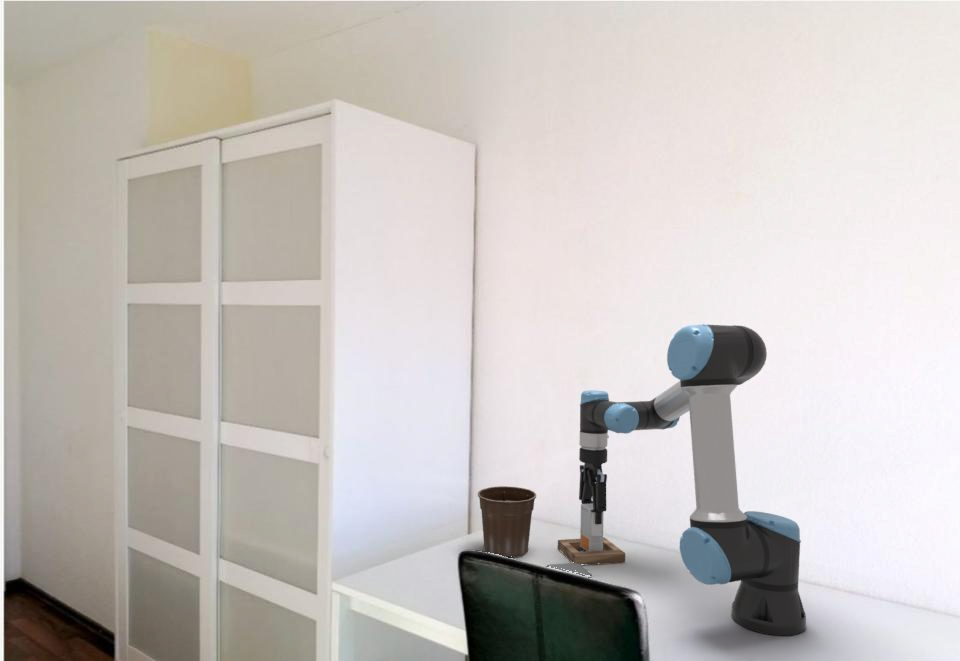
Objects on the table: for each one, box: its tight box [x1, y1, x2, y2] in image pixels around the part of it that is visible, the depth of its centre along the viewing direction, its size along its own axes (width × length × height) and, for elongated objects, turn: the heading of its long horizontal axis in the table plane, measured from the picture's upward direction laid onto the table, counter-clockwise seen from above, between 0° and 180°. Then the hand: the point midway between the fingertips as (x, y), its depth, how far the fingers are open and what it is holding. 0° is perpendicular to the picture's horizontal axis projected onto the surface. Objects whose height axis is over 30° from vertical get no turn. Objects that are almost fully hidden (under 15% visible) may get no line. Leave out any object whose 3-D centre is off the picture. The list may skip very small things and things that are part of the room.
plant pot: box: [477, 485, 537, 559], centre depth 204 cm, size 16×16×16 cm
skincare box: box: [579, 503, 604, 552], centre depth 202 cm, size 6×4×12 cm
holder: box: [557, 536, 626, 565], centre depth 202 cm, size 14×14×2 cm
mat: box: [545, 562, 593, 577], centre depth 189 cm, size 9×9×1 cm
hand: (591, 531), depth 202 cm, fingers closed on skincare box, 6 cm apart
